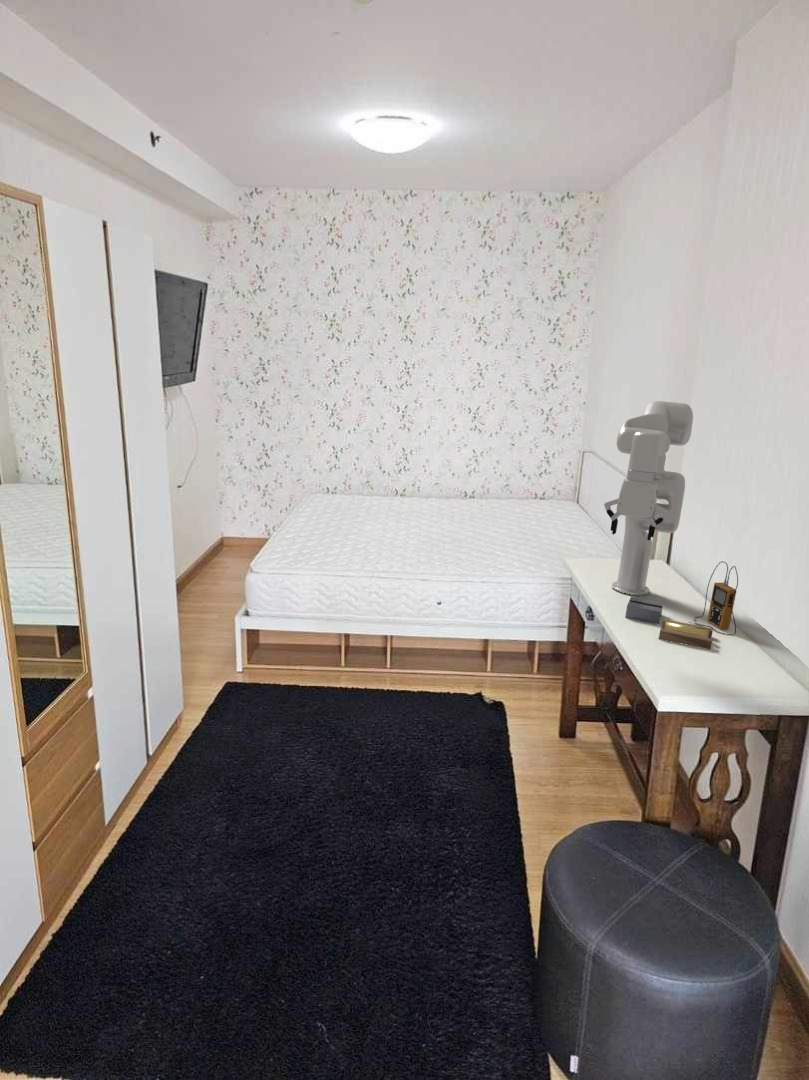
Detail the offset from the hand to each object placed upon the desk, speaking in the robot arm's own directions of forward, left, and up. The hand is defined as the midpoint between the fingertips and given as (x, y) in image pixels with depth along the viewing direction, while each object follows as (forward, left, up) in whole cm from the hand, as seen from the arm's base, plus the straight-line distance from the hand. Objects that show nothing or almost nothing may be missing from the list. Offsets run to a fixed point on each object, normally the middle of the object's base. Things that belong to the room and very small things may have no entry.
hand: (631, 536), depth 205 cm
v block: (-19, +6, -29) cm, 35 cm away
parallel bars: (-7, +19, -29) cm, 35 cm away
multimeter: (-22, +25, -29) cm, 44 cm away
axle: (-7, +19, -27) cm, 34 cm away
